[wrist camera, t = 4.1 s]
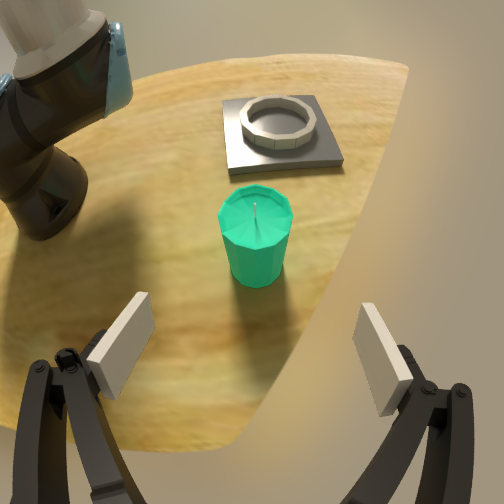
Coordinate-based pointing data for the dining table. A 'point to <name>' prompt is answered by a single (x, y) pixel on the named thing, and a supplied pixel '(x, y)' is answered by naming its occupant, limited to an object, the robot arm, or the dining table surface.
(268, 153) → the candle stand
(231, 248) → the candle
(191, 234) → the dining table surface
